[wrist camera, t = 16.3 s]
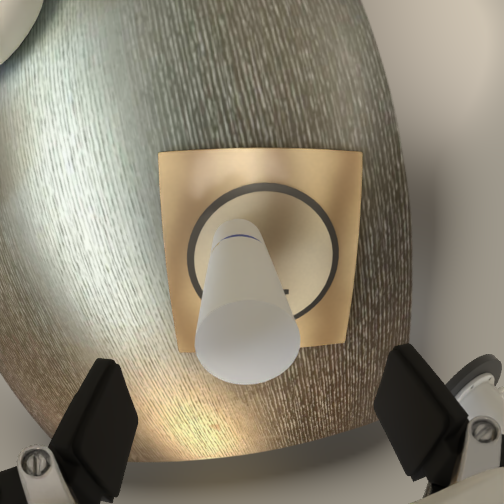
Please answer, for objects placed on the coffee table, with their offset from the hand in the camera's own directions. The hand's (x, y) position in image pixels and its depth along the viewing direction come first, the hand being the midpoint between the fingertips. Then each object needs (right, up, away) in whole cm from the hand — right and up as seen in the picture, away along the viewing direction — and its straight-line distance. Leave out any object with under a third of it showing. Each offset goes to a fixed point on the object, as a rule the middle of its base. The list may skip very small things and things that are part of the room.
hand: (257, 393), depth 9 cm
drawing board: (+1, +4, +19) cm, 19 cm away
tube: (-1, +5, +17) cm, 18 cm away
